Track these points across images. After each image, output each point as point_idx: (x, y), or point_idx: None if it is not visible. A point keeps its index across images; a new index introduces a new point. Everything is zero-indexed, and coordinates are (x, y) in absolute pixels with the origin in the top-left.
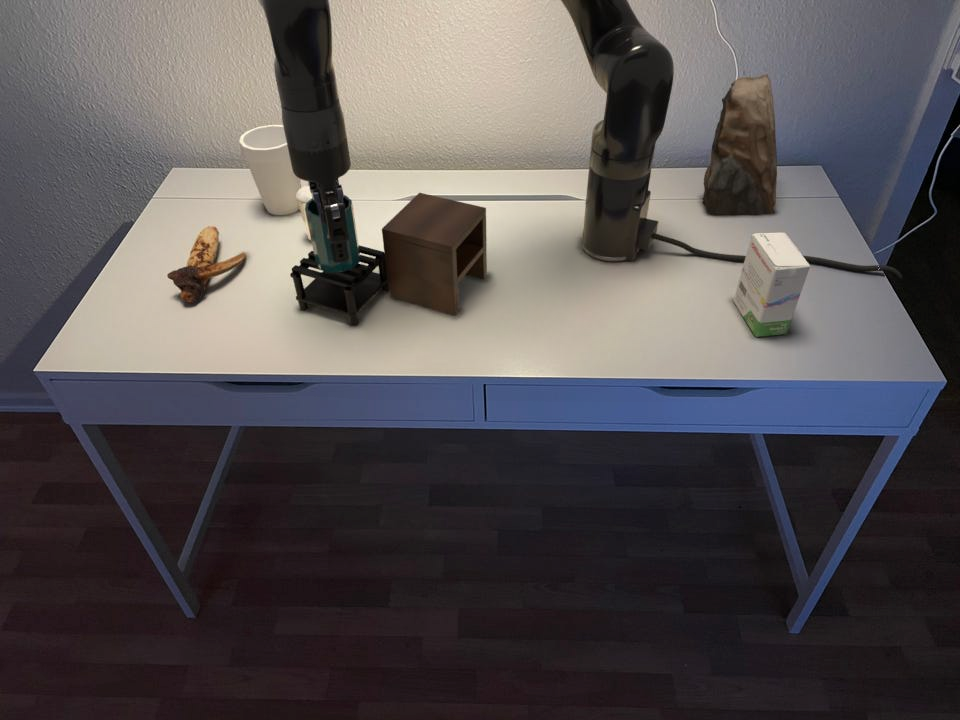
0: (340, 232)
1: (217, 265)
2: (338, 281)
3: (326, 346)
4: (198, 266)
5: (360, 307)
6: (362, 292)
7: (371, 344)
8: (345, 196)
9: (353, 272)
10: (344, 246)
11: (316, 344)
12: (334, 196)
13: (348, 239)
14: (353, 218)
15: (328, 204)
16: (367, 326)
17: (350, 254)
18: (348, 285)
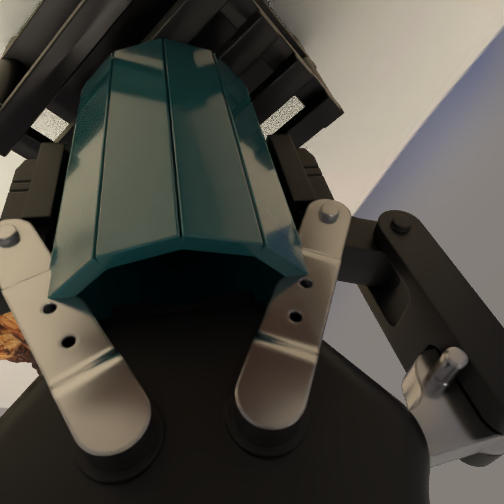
0: (390, 264)
1: (19, 328)
2: (298, 145)
3: (335, 129)
4: (10, 347)
5: (294, 39)
6: (221, 13)
7: (394, 22)
8: (107, 262)
9: (272, 89)
10: (329, 190)
11: (317, 147)
12: (446, 453)
13: (417, 221)
14: (224, 172)
15: (496, 458)
16: (319, 13)
17: (258, 121)
18: (333, 118)
